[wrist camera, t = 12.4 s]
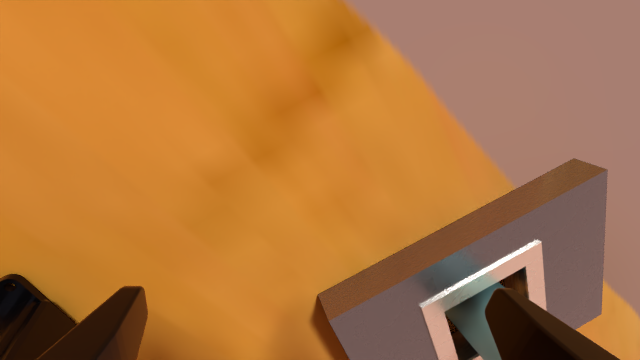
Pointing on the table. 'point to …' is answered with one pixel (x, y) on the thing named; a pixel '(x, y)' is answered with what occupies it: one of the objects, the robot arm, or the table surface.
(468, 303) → the teal peg
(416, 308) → the flange plate
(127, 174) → the table surface
